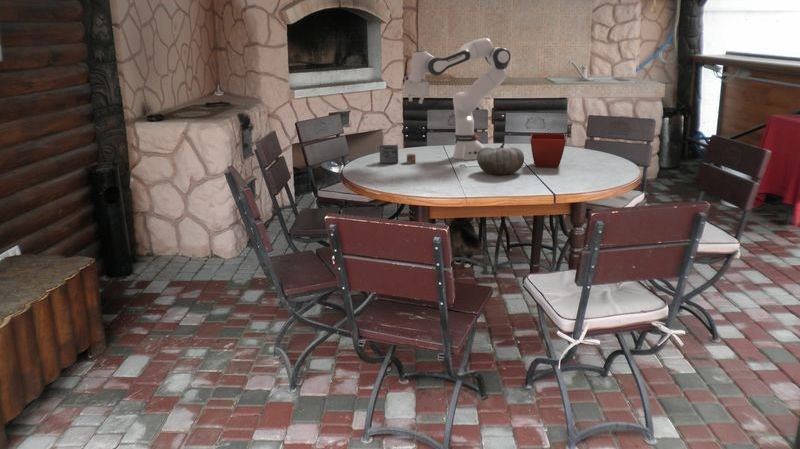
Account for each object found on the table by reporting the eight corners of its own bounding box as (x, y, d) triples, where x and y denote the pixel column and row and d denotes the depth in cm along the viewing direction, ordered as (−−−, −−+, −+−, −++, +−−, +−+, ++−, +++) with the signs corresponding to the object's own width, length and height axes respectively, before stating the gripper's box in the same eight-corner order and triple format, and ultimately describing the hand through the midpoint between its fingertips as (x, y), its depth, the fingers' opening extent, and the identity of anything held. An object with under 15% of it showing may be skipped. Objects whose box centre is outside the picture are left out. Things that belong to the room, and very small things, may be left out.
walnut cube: (415, 162, 413) (415, 153, 411) (415, 163, 408) (415, 155, 406) (406, 162, 413) (406, 153, 411) (407, 163, 408) (406, 155, 406)
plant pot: (564, 169, 384) (565, 139, 380) (529, 168, 388) (530, 138, 383) (563, 162, 402) (565, 133, 398) (530, 162, 406) (531, 133, 401)
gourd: (507, 175, 359) (505, 141, 357) (468, 177, 375) (466, 145, 374) (532, 172, 377) (530, 140, 376) (494, 174, 394) (492, 143, 392)
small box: (398, 161, 414) (398, 144, 411) (397, 164, 407) (397, 146, 404) (381, 161, 415) (380, 144, 412) (379, 164, 408) (379, 146, 405)
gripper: (433, 80, 401) (430, 104, 404) (411, 77, 416) (409, 100, 419) (424, 80, 397) (422, 104, 400) (402, 76, 412) (400, 100, 416)
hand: (415, 102), depth 410 cm, fingers open, 8 cm apart
